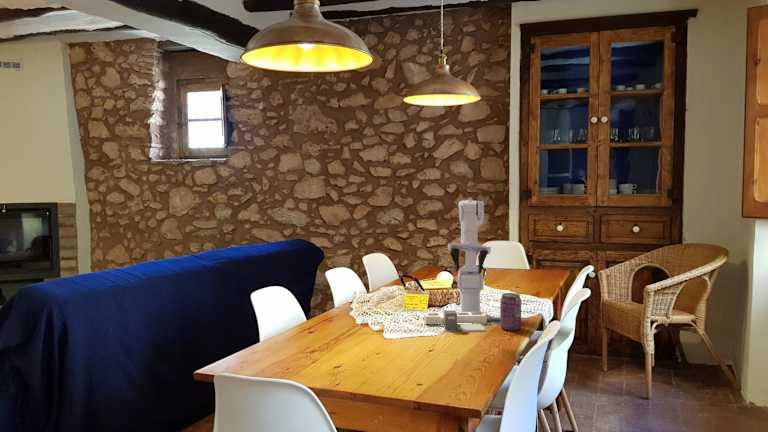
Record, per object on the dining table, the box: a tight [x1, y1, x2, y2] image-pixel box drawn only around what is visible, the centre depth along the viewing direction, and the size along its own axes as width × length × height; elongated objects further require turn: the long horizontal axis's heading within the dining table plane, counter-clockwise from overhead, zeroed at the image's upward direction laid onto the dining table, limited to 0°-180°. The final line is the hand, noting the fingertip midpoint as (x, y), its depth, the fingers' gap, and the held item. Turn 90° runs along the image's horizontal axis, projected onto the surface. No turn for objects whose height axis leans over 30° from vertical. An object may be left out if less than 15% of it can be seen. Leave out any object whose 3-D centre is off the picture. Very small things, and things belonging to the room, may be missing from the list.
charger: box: [443, 309, 458, 331], centre depth 214 cm, size 8×4×6 cm, turn 3°
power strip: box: [423, 311, 500, 325], centre depth 220 cm, size 8×28×4 cm, turn 93°
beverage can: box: [499, 292, 522, 331], centre depth 212 cm, size 7×7×12 cm
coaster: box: [458, 324, 486, 333], centre depth 213 cm, size 8×8×1 cm
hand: (468, 271), depth 204 cm, fingers open, 7 cm apart
